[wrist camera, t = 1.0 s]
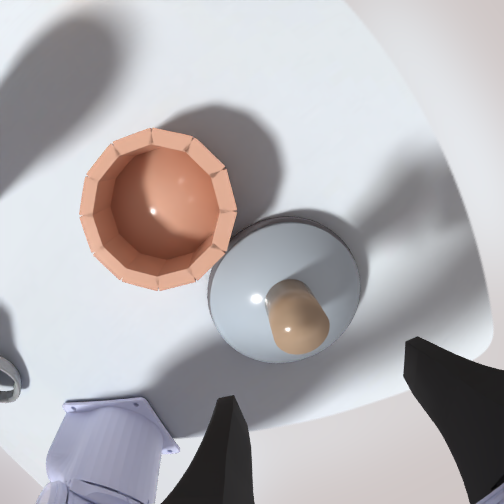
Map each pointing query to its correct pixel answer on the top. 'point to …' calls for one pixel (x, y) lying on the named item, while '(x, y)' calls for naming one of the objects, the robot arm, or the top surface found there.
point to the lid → (284, 292)
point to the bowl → (158, 209)
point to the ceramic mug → (9, 369)
